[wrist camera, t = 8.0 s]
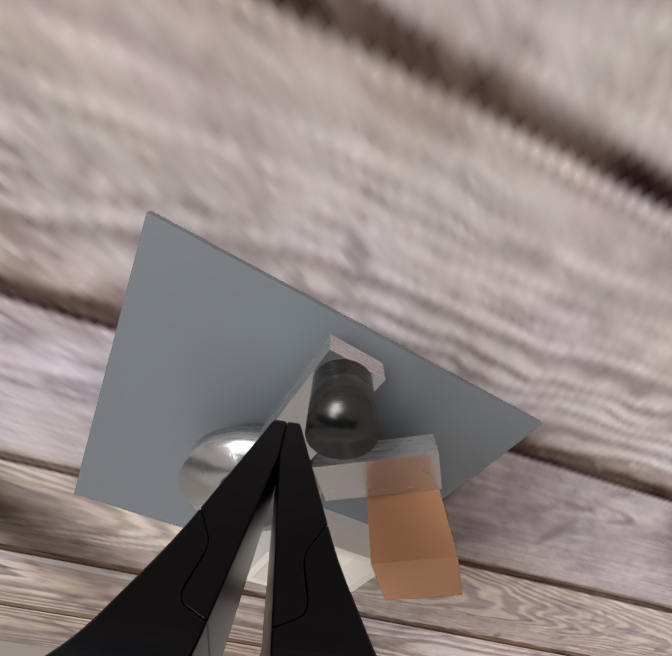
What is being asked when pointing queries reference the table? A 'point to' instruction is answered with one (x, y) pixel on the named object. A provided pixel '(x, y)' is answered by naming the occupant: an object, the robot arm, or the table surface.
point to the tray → (348, 546)
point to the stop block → (412, 546)
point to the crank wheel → (326, 436)
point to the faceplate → (251, 377)
